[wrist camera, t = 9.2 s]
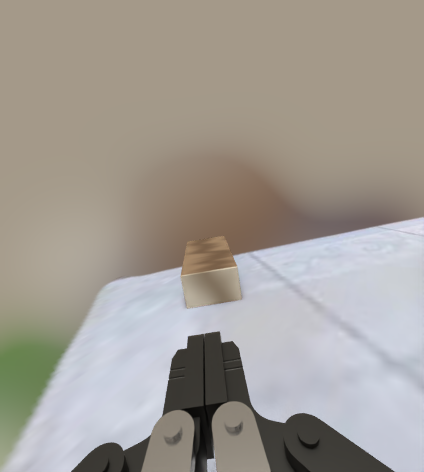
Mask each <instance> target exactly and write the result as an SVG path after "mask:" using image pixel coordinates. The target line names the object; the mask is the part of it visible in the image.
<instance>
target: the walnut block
mask: <svg viewBox="0 0 424 472" xmlns="http://www.w3.org/2000/svg"><path fill="white" fill-rule="evenodd" d="M181 281H182V286H183V291H184V296H185V301H186V306H187V309H188V308H194V307H200V306H206V305H212V304H218V303H224V302H231V301H237V300H242V297H241V290H240V283H239V275H238V268H237V265H236V263H235V260H234V258H233V256H232V253H231V251H230V249H229V246H228V244H227V242H226V239H225V237H224V236H220V237H214V238H208V239H202V240H196V241H189V242H187V247H186V252H185V257H184V262H183V267H182V272H181Z"/></svg>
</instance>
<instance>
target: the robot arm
mask: <svg viewBox="0 0 424 472" xmlns="http://www.w3.org/2000/svg"><path fill="white" fill-rule="evenodd" d="M213 445H214V446H213ZM214 450H215V459H216V468H217V472H394V471H393V470H391V469H390V468H389V467H387V466H386V465H384V464H383V463H381V462H380V461H379V460H377V459H376V458H374V457H373V456H371V455H370V454H369V453H367V452H366V451H364V450H363V449H361V448H360V447H359V446H357V445H356V444H354V443H353V442H351V441H350V440H349V439H347V438H346V437H344V436H343V435H341V434H340V433H339V432H337V431H336V430H334V429H333V428H331V427H330V426H329V425H327V424H326V423H324V422H323V421H321V420H320V419H318V418H317V417H315V416H313V415H310V414H305V413H299V414H295V415H293V416H291V417H290V418H289V419H288V420H287V421H286V423H280V422H275V421H271V420H268V419H265V418H264V417H262V416H260V415H259V414H258V413H257V412H256V411H255V410H254V408H253V407H252V405H251V402H250V398H249V394H248V389H247V384H246V380H245V375H244V371H243V366H242V361H241V357H240V352H239V348H238V347H237V346H236V345H235V344H234V342H233V341H231V342H224V343H222V342H221V336H220V331H219V332H212V333H206V334H205V337H204V334H200V335H194V336H188V343H187V349H180V350H178V351H177V352H176V354H175V355H174V357H173V358H172V363H171V368H170V374H169V380H168V386H167V392H166V398H165V404H164V410H163V415H162V417H161V418H160V419H159V420H158V422H157V423H156V424H155V426H154V428H153V430H152V433H151V435H150V436H149V437H148V438H146V439H145V440H143V441H142V442H140V443H138V444H136V445H134V446H132V447H130V448H128V449H126V450H125V451H123V449H122V447H121V446H120V445H119V444H117V443H112V442H111V443H106V444H103V445H100V446H99V447H97V448H95V449H94V450H93V451H91V452H90V453H89V454H88V455H87V456H86V457H85V458H84V459H83V460H82V461H81V462H80V463H79V464H78V465H77V466H76V467H75V468H74V469H73V470H72V471H71V472H207V459H212V458H214Z"/></svg>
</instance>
